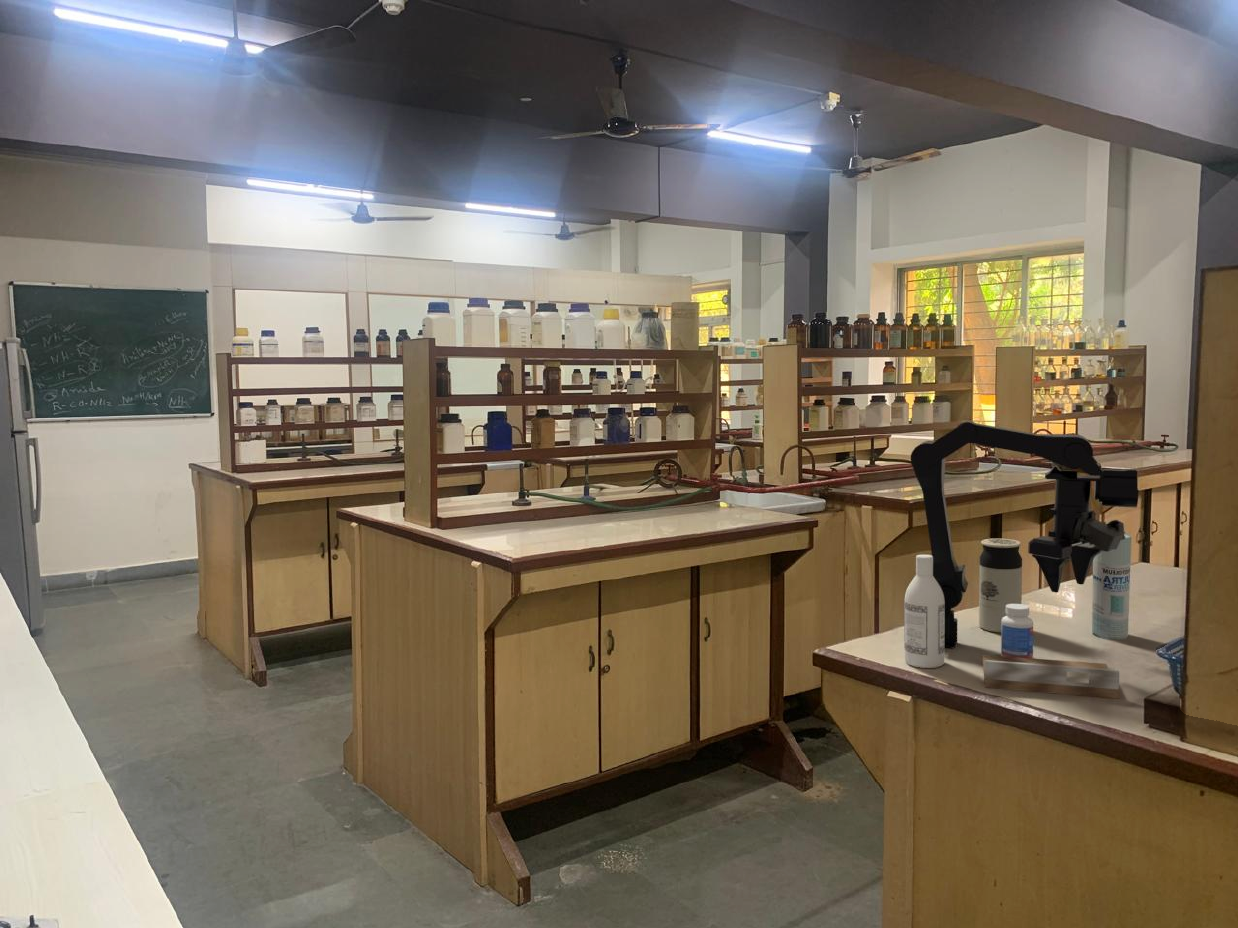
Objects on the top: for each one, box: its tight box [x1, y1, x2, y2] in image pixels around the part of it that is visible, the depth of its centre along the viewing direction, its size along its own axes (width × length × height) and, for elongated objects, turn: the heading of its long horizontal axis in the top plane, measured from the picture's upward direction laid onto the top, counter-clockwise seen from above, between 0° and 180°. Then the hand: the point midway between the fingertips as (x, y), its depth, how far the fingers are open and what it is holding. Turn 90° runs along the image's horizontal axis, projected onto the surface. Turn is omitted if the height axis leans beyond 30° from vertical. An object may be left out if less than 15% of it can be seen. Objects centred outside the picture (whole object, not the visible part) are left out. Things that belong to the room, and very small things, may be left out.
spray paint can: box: [1091, 533, 1132, 641], centre depth 177 cm, size 6×6×20 cm
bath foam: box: [903, 554, 946, 669], centre depth 165 cm, size 7×7×20 cm
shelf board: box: [982, 654, 1120, 699], centre depth 155 cm, size 20×13×4 cm, turn 70°
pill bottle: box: [1000, 603, 1034, 659], centre depth 166 cm, size 6×5×10 cm
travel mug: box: [978, 538, 1023, 634], centre depth 184 cm, size 8×8×18 cm
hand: (1067, 587), depth 166 cm, fingers open, 9 cm apart
